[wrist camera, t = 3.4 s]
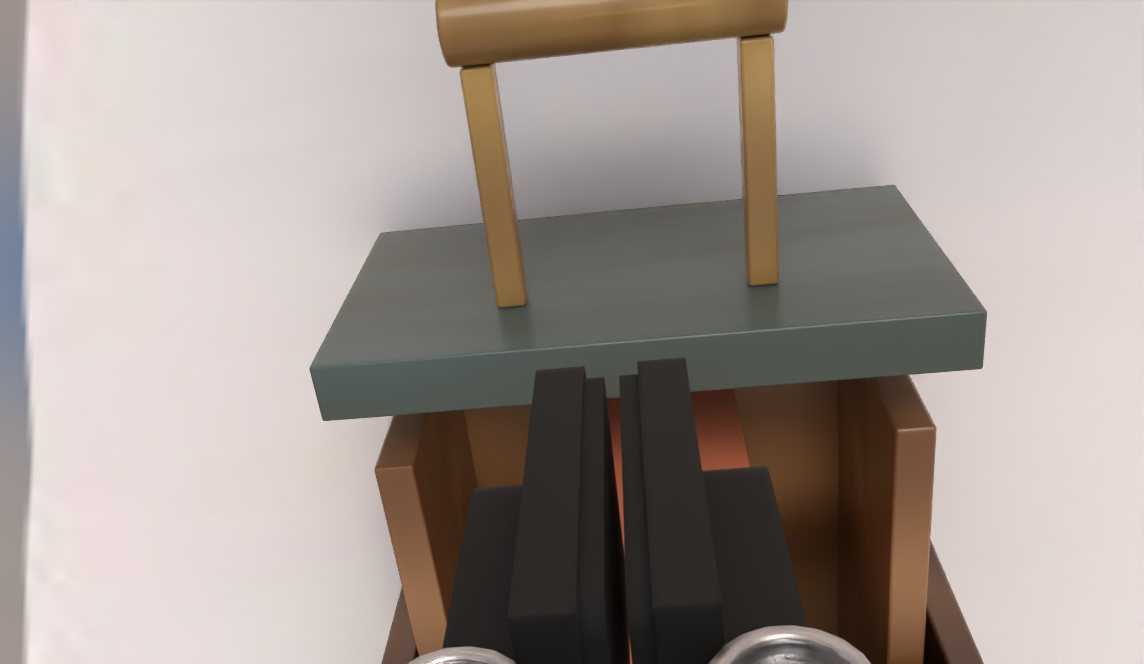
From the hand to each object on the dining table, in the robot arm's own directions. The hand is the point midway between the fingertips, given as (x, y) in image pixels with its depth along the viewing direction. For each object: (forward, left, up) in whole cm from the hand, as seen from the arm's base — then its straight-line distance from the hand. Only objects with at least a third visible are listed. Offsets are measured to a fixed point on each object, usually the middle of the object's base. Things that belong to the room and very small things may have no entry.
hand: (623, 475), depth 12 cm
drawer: (+6, +3, -14) cm, 15 cm away
